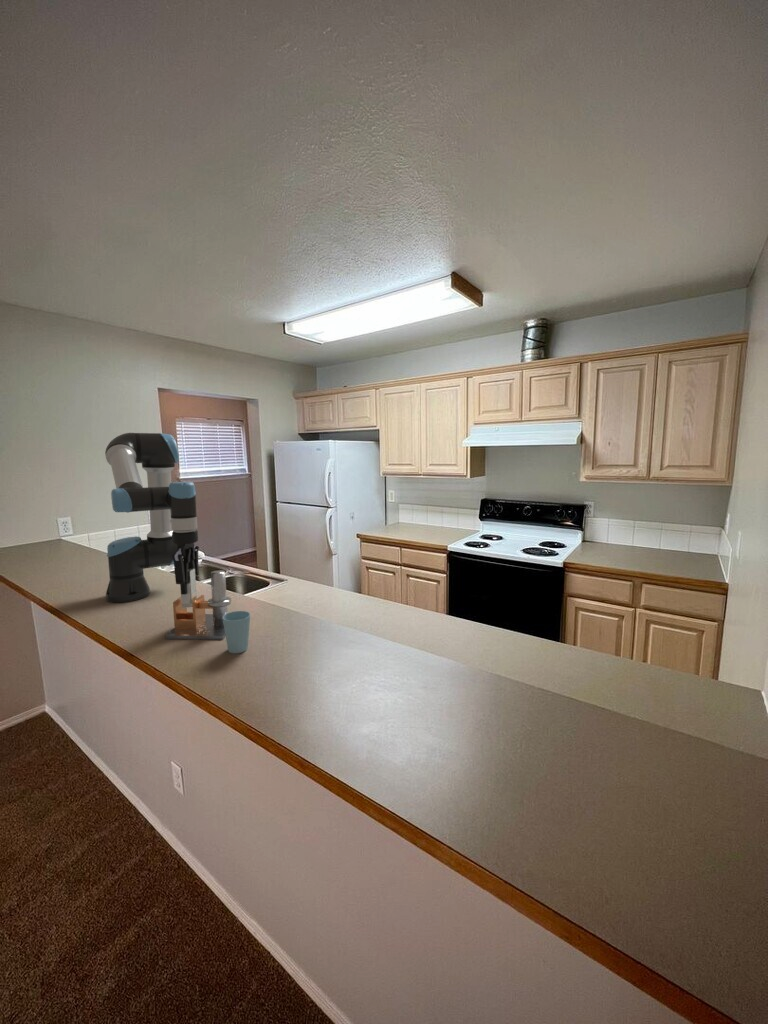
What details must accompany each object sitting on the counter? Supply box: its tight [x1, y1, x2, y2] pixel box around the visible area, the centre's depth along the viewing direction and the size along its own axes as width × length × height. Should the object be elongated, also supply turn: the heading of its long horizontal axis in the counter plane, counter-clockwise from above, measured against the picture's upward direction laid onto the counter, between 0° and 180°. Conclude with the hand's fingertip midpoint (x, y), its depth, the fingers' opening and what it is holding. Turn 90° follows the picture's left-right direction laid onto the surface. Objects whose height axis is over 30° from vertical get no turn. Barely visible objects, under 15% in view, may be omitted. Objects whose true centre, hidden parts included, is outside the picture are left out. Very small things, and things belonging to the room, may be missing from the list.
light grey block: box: [182, 568, 198, 608], centre depth 139 cm, size 3×3×12 cm
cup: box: [222, 610, 251, 654], centre depth 125 cm, size 8×8×10 cm
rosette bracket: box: [164, 569, 232, 640], centre depth 140 cm, size 18×18×19 cm
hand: (189, 600), depth 139 cm, fingers closed on light grey block, 3 cm apart
